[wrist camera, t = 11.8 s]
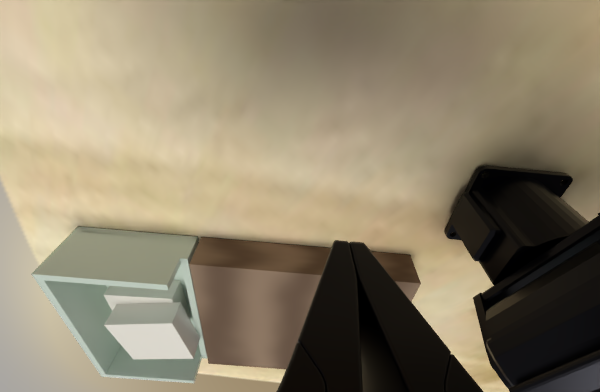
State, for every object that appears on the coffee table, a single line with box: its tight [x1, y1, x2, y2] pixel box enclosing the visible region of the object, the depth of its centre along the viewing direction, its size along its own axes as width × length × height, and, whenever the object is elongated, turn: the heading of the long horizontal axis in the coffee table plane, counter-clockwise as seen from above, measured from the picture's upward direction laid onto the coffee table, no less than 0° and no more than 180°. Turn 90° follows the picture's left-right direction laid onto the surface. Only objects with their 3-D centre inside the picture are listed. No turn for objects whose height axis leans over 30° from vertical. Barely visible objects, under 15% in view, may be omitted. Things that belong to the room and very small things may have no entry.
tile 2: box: [104, 302, 200, 359], centre depth 27 cm, size 6×6×2 cm
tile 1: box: [104, 280, 191, 319], centre depth 28 cm, size 6×6×2 cm
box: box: [32, 227, 208, 383], centre depth 27 cm, size 10×16×5 cm, turn 175°
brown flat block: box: [189, 237, 421, 369], centre depth 28 cm, size 18×16×3 cm
